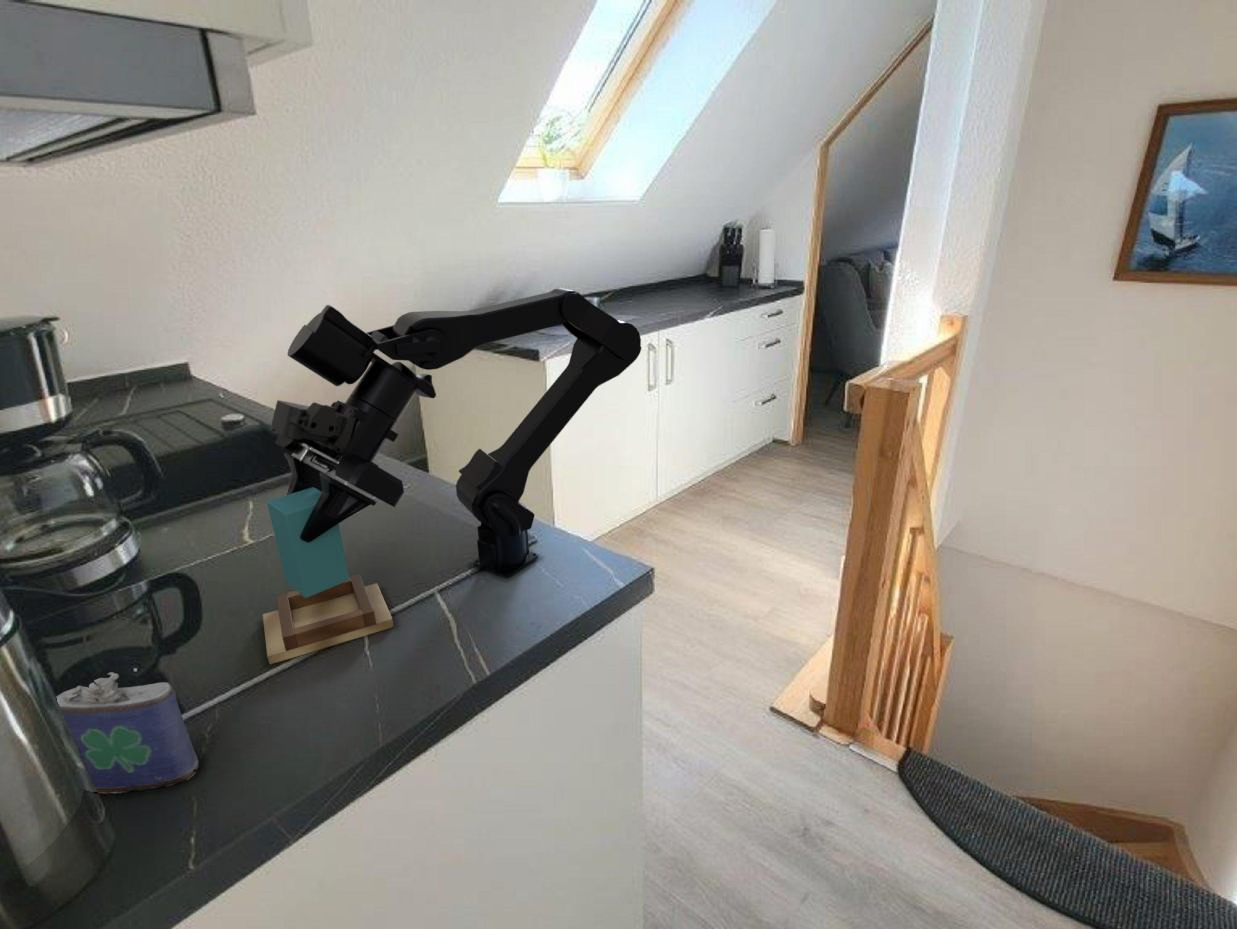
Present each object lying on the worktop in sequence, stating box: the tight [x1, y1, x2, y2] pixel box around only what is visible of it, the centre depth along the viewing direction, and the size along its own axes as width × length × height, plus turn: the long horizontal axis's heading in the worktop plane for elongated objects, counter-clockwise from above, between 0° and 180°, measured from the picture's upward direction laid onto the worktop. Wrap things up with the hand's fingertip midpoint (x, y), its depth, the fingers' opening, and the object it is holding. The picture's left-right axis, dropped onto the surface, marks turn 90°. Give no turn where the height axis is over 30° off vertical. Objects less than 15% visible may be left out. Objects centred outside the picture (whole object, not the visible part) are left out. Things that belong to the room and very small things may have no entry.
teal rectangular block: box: [266, 487, 350, 598], centre depth 71 cm, size 5×5×10 cm
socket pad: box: [262, 573, 395, 665], centre depth 76 cm, size 13×9×3 cm
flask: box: [55, 671, 200, 794], centre depth 54 cm, size 9×3×11 cm, turn 95°
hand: (293, 532), depth 69 cm, fingers closed on teal rectangular block, 5 cm apart
